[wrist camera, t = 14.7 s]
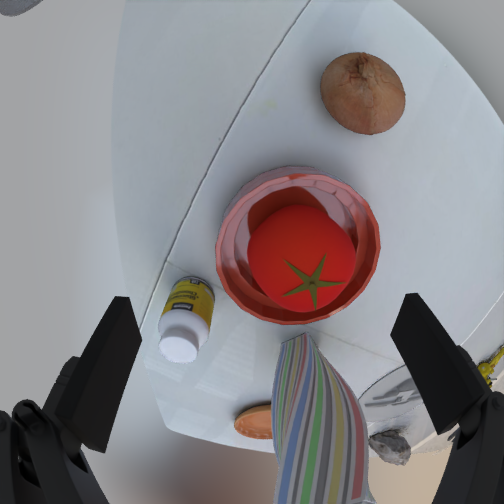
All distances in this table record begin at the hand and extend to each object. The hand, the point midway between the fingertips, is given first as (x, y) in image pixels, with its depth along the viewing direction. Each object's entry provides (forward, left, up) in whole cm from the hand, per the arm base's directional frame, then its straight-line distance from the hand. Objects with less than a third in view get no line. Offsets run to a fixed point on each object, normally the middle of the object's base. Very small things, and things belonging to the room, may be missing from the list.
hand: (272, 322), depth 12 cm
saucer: (+51, +4, -24) cm, 56 cm away
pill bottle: (+15, -9, -24) cm, 30 cm away
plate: (+48, +39, -24) cm, 66 cm away
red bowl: (+6, +5, -24) cm, 25 cm away
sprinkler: (+50, +75, -24) cm, 93 cm away
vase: (+26, +8, -24) cm, 36 cm away
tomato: (+6, +5, -23) cm, 24 cm away
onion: (-13, +11, -24) cm, 29 cm away
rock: (+77, +46, -24) cm, 93 cm away
